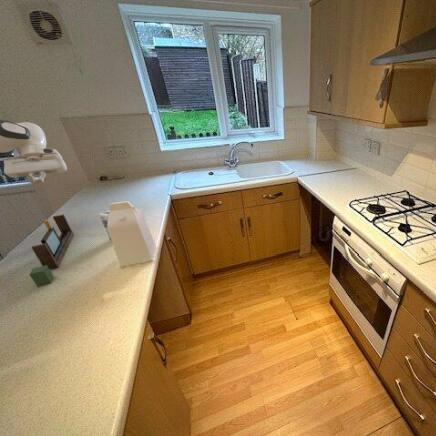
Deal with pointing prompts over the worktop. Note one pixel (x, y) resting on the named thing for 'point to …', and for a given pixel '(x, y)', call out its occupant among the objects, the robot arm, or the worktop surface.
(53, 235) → the window pane
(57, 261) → the window frame
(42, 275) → the block
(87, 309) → the worktop surface
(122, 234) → the milk
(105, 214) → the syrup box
